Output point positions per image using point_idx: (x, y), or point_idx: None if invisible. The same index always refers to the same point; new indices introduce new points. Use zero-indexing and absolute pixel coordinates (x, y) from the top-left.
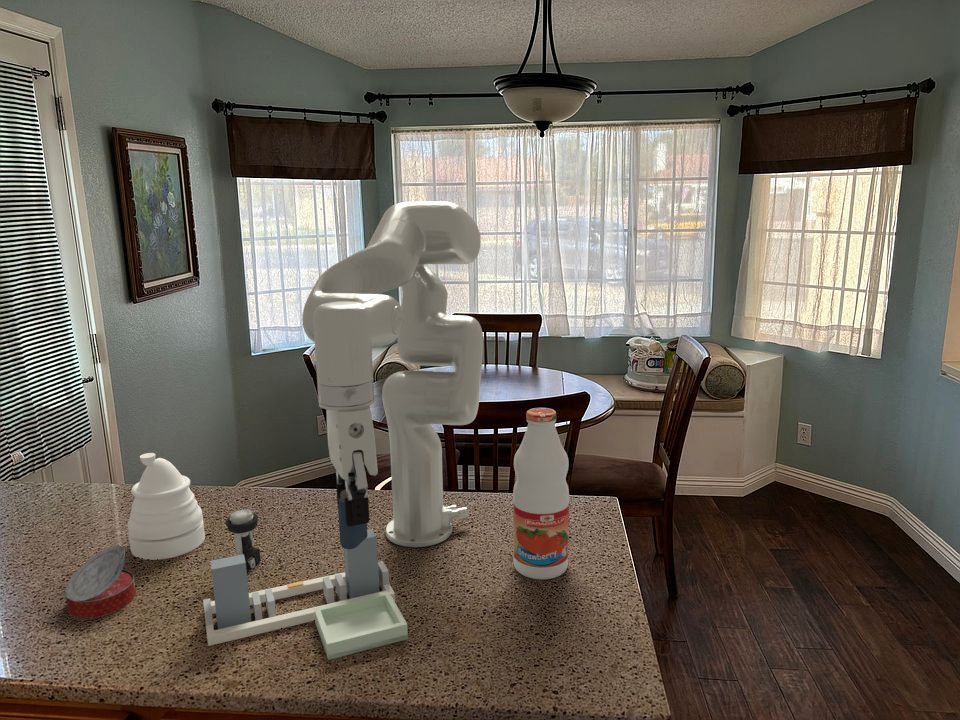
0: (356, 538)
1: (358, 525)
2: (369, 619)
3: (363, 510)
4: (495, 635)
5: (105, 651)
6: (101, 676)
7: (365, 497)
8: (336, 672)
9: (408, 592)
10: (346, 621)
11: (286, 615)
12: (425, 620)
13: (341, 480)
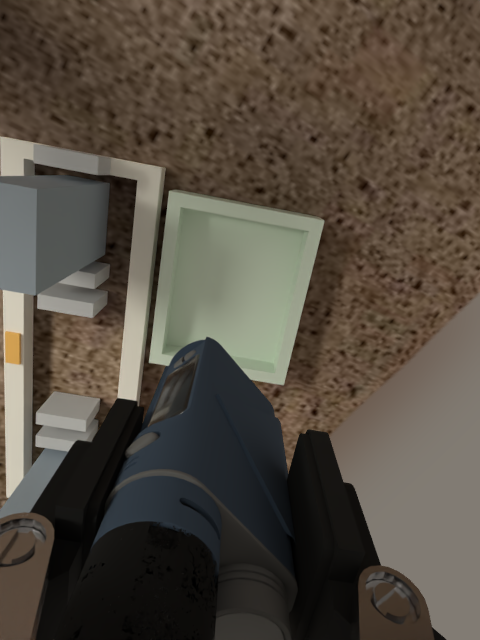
0: (279, 426)
1: (269, 441)
2: (219, 262)
3: (362, 522)
4: (442, 20)
5: None
6: None
7: (406, 594)
8: (321, 369)
9: (144, 116)
10: (198, 305)
11: (124, 398)
12: (279, 144)
13: (49, 638)
